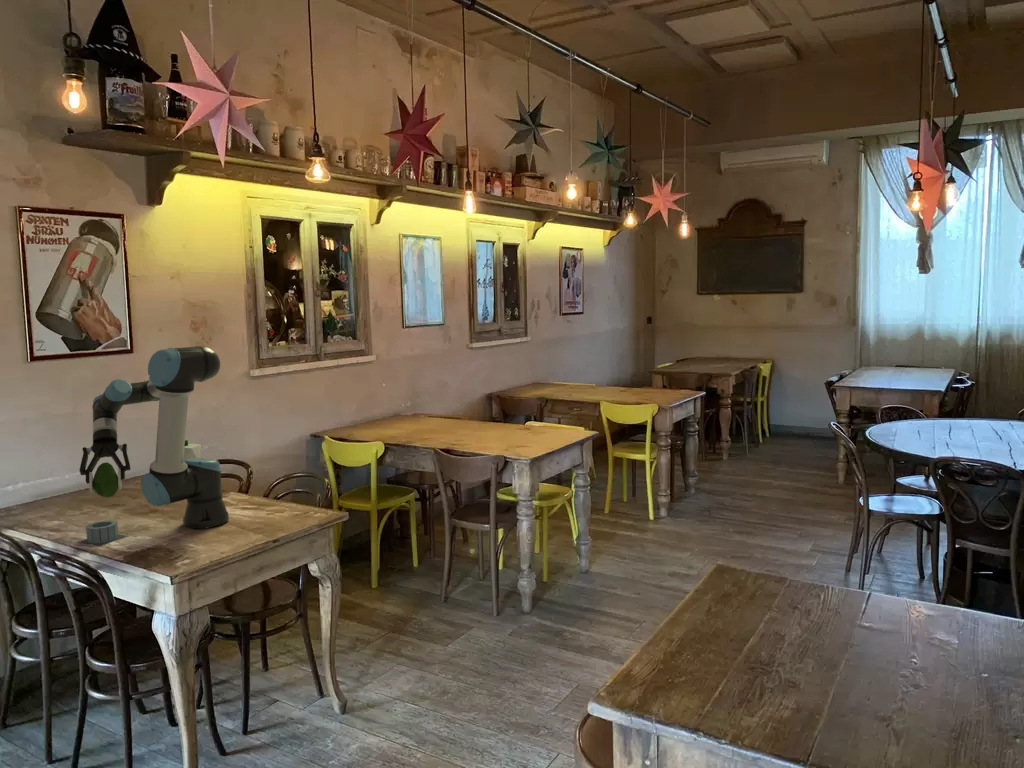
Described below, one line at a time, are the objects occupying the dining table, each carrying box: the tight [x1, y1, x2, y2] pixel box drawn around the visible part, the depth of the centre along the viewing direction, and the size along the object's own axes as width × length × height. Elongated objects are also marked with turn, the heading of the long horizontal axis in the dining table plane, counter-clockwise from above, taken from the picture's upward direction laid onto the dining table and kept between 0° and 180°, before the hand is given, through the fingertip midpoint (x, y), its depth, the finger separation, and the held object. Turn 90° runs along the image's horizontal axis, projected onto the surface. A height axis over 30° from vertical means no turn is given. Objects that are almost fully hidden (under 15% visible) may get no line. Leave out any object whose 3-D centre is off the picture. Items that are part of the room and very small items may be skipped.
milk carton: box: [183, 439, 202, 461], centre depth 313 cm, size 9×9×20 cm
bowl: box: [85, 519, 119, 544], centre depth 247 cm, size 9×9×5 cm
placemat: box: [76, 533, 129, 547], centre depth 247 cm, size 11×11×1 cm
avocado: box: [92, 461, 119, 498], centre depth 252 cm, size 8×8×12 cm
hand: (105, 489), depth 250 cm, fingers closed on avocado, 8 cm apart
